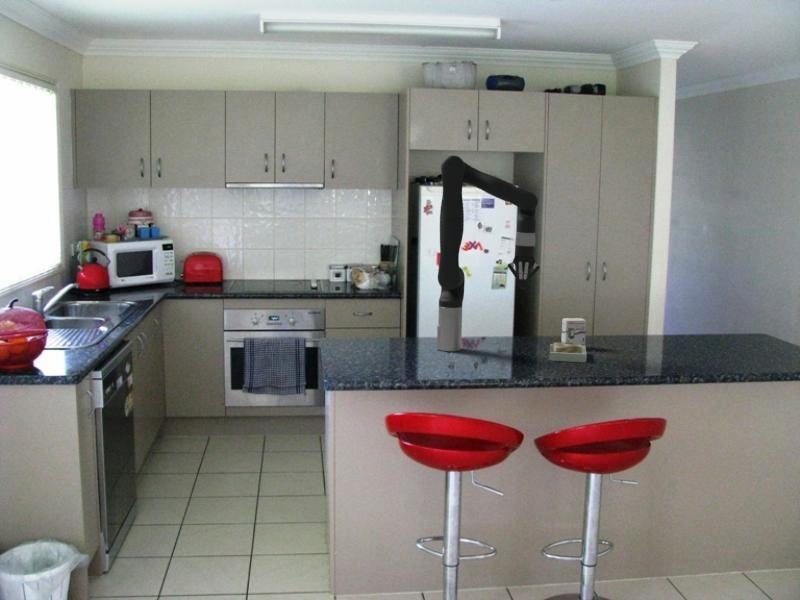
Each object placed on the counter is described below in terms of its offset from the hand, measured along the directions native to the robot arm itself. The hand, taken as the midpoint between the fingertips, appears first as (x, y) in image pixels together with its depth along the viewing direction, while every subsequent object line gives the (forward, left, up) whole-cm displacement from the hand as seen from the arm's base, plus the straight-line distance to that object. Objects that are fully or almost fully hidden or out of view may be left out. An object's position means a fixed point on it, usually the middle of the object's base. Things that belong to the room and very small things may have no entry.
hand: (522, 288), depth 331 cm
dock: (+19, -6, -25) cm, 32 cm away
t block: (+17, -6, -25) cm, 31 cm away
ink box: (+21, +12, -25) cm, 35 cm away
